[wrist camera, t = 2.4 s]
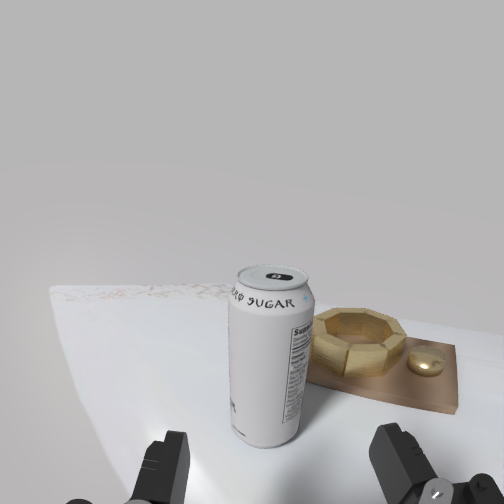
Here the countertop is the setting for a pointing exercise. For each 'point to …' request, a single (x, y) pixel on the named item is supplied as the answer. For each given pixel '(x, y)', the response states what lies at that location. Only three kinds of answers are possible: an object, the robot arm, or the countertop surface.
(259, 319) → the energy drink can
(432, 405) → the walnut carrier plate
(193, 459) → the countertop surface
